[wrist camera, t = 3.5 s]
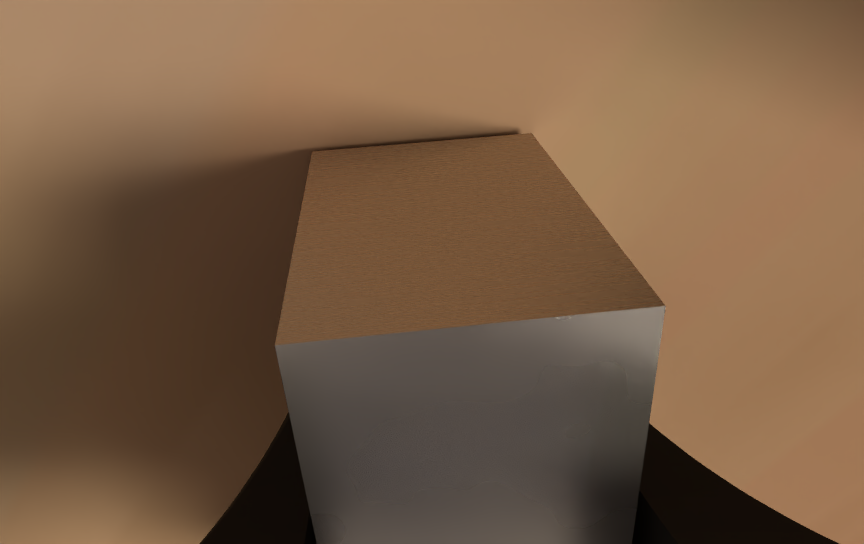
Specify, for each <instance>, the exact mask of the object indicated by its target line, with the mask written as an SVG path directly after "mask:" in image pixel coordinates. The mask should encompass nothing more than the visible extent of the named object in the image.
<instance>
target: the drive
mask: <svg viewBox="0 0 864 544" xmlns="http://www.w3.org/2000/svg"><path fill="white" fill-rule="evenodd" d="M664 313H665V304H664V303H663V302H662V301H661V299H660V298H659V297H658V295H657V294H656V293H655V292H654V290H653V289H652V288H651V286H650V285H649V284H648V283H647V281H646V280H645V279H644V277H643V276H642V275H641V274H640V272H639V271H638V270H637V268H636V267H635V266H634V265H633V263H632V262H631V261H630V259H629V258H628V257H627V256H626V254H625V253H624V252H623V250H622V249H621V248H620V246H619V245H618V244H617V243H616V241H615V240H614V239H613V237H612V236H611V235H610V234H609V232H608V231H607V230H606V228H605V227H604V226H603V225H602V223H601V222H600V221H599V219H598V218H597V217H596V216H595V214H594V213H593V212H592V210H591V209H590V208H589V207H588V205H587V204H586V203H585V201H584V200H583V199H582V198H581V196H580V195H579V194H578V192H577V191H576V190H575V188H574V187H573V186H572V185H571V183H570V182H569V181H568V179H567V178H566V177H565V176H564V174H563V173H562V172H561V170H560V169H559V168H558V167H557V165H556V164H555V163H554V161H553V160H552V159H551V158H550V156H549V155H548V154H547V152H546V151H545V150H544V149H543V147H542V146H541V145H540V143H539V142H538V141H537V140H536V138H535V137H534V136H533V134H532V133H527V134H515V135H503V136H492V137H480V138H468V139H456V140H444V141H432V142H420V143H408V144H396V145H384V146H372V147H361V148H349V149H337V150H325V151H313V152H312V155H311V160H310V165H309V170H308V176H307V181H306V186H305V191H304V196H303V201H302V207H301V212H300V217H299V222H298V227H297V233H296V238H295V243H294V248H293V253H292V259H291V264H290V269H289V274H288V279H287V284H286V290H285V295H284V300H283V305H282V310H281V316H280V321H279V326H278V331H277V336H276V342H275V349H276V354H277V358H278V363H279V368H280V373H281V377H282V382H283V387H284V392H285V396H286V401H287V406H288V411H289V415H290V420H291V425H292V429H293V434H294V439H295V444H296V448H297V453H298V458H299V463H300V467H301V472H302V477H303V482H304V486H305V491H306V496H307V501H308V505H309V510H310V515H311V520H312V524H313V529H314V534H315V539H316V543H317V544H632V539H633V532H634V525H635V518H636V511H637V504H638V497H639V490H640V482H641V475H642V468H643V461H644V454H645V447H646V440H647V433H648V426H649V419H650V412H651V405H652V398H653V391H654V384H655V377H656V370H657V363H658V356H659V349H660V341H661V334H662V327H663V320H664Z"/></svg>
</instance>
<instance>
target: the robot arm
mask: <svg viewBox="0 0 864 544" xmlns="http://www.w3.org/2000/svg"><path fill="white" fill-rule="evenodd" d="M200 544H317V543H316V539H315V534H314V529H313V524H312V520H311V515H310V510H309V505H308V501H307V496H306V491H305V486H304V482H303V477H302V472H301V467H300V463H299V458H298V453H297V448H296V444H295V439H294V434H293V429H292V425H291V420H290V415H289V412H288V414H287V416H286V418H285V420H284V422H283V424H282V426H281V428H280V429H279V431H278V433H277V435H276V436H275V438H274V440H273V441H272V443H271V445H270V447H269V448H268V450H267V452H266V453H265V455H264V457H263V458H262V460H261V462H260V463H259V465H258V466H257V468H256V469H255V471H254V472H253V474H252V475H251V477H250V478H249V479H248V481H247V482H246V484H245V485H244V487H243V488H242V490H241V491H240V493H239V494H238V496H237V497H236V498H235V500H234V501H233V502H232V504H231V505H230V507H229V508H228V509H227V510H226V512H225V513H224V514H223V516H222V517H221V518H220V519H219V521H218V522H217V523H216V524H215V526H214V527H213V528H212V529H211V531H210V532H209V533H208V534H207V536H206V537H205V538H204V539H203V540H202V541H201V542H200ZM632 544H839V543H837V542H835V541H833V540H830V539H828V538H826V537H824V536H822V535H820V534H818V533H816V532H814V531H812V530H810V529H808V528H806V527H805V526H803V525H801V524H799V523H797V522H795V521H793V520H791V519H789V518H788V517H786V516H784V515H782V514H781V513H779V512H777V511H775V510H774V509H772V508H770V507H768V506H767V505H765V504H763V503H761V502H760V501H758V500H756V499H754V498H753V497H751V496H749V495H748V494H746V493H745V492H743V491H741V490H740V489H738V488H736V487H735V486H733V485H732V484H730V483H729V482H727V481H726V480H724V479H723V478H721V477H720V476H718V475H717V474H715V473H714V472H712V471H711V470H709V469H708V468H706V467H705V466H704V465H702V464H701V463H699V462H698V461H697V460H695V459H694V458H692V457H691V456H690V455H688V454H687V453H686V452H684V451H683V450H682V449H681V448H679V447H678V446H677V445H675V444H674V443H673V442H672V441H670V440H669V439H668V438H666V437H665V436H664V435H663V434H661V433H660V432H659V431H658V430H657V429H655V428H654V427H653V426H652V425H651V424H650V423H649V426H648V433H647V440H646V447H645V454H644V461H643V468H642V475H641V482H640V490H639V497H638V504H637V511H636V518H635V525H634V532H633V539H632Z"/></svg>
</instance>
